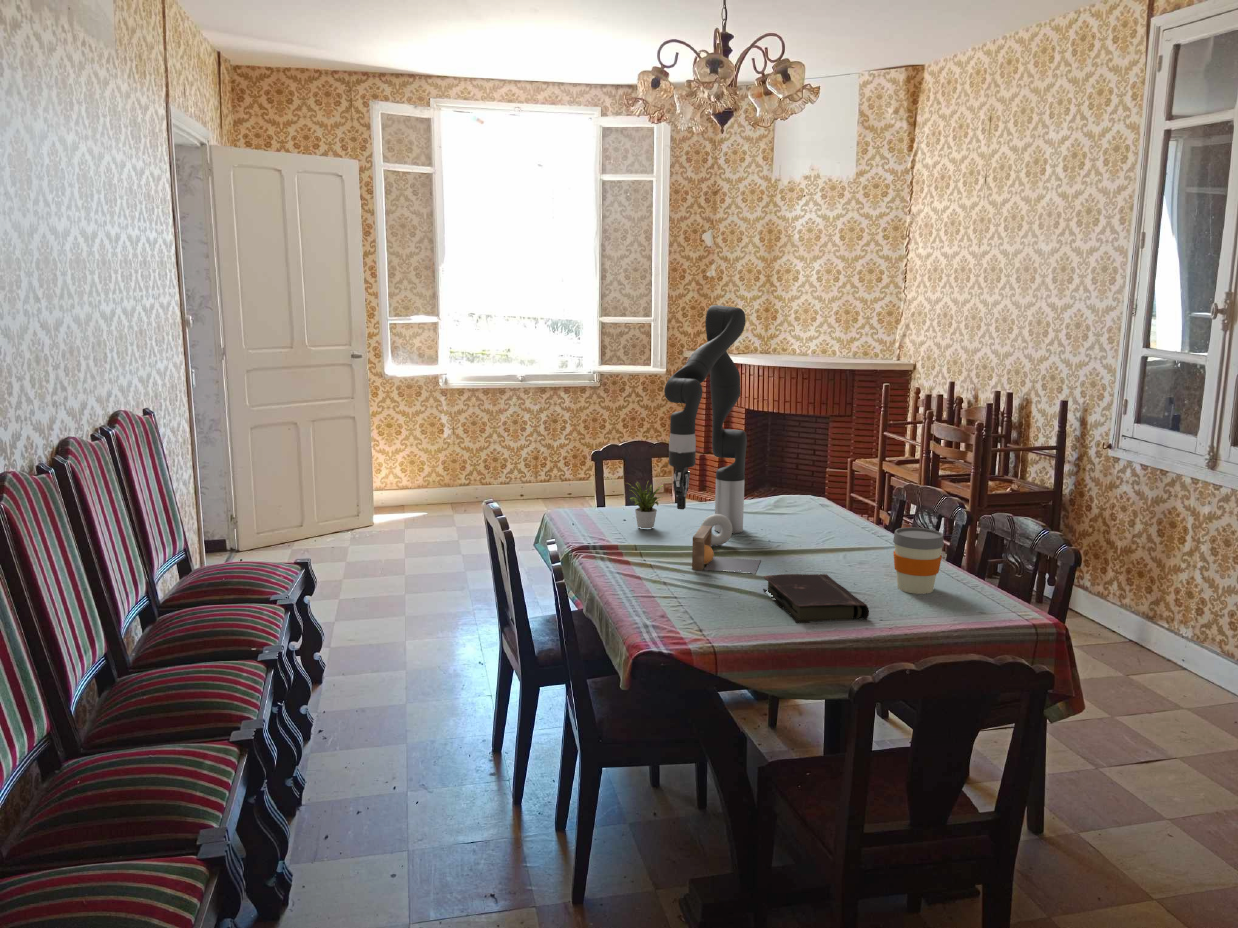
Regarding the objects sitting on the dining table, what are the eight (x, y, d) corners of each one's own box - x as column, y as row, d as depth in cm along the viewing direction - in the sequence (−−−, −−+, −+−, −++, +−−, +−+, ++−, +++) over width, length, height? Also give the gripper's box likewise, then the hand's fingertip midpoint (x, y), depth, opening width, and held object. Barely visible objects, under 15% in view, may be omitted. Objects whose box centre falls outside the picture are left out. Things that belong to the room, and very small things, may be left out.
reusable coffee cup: (907, 597, 237) (911, 540, 234) (881, 583, 249) (884, 528, 246) (950, 593, 240) (954, 537, 238) (922, 579, 252) (926, 525, 250)
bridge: (691, 569, 260) (692, 537, 259) (700, 555, 274) (701, 525, 272) (702, 570, 259) (703, 538, 258) (710, 556, 273) (711, 526, 272)
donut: (701, 547, 283) (702, 515, 281) (698, 544, 286) (699, 513, 285) (733, 546, 285) (734, 514, 283) (730, 543, 288) (731, 512, 286)
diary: (828, 591, 245) (829, 572, 244) (868, 623, 220) (870, 603, 220) (759, 593, 242) (760, 574, 241) (793, 626, 217) (794, 605, 216)
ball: (716, 544, 267) (715, 563, 267) (698, 541, 269) (697, 560, 269) (710, 547, 262) (709, 567, 262) (692, 545, 264) (690, 564, 264)
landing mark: (712, 557, 273) (712, 556, 273) (760, 560, 269) (760, 560, 269) (704, 570, 260) (704, 569, 260) (755, 574, 256) (755, 573, 256)
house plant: (614, 531, 302) (615, 481, 299) (626, 521, 315) (627, 474, 312) (657, 534, 298) (658, 484, 295) (667, 525, 311) (668, 477, 308)
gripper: (673, 444, 270) (672, 503, 273) (664, 452, 258) (663, 513, 261) (699, 446, 268) (698, 504, 272) (691, 453, 256) (690, 515, 259)
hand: (681, 508), depth 266 cm, fingers closed
